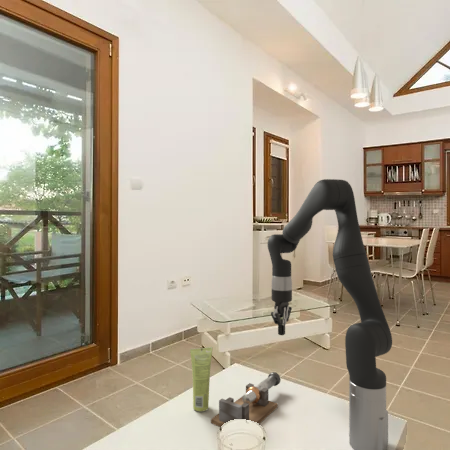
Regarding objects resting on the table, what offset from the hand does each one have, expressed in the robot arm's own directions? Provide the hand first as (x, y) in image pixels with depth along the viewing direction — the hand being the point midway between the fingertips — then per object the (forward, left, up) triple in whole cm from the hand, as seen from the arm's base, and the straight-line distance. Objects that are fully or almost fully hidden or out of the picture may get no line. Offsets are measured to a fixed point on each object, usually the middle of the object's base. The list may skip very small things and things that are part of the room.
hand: (281, 334), depth 131 cm
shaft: (0, +15, -17) cm, 22 cm away
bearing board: (0, +25, -19) cm, 31 cm away
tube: (+14, +30, -19) cm, 38 cm away
